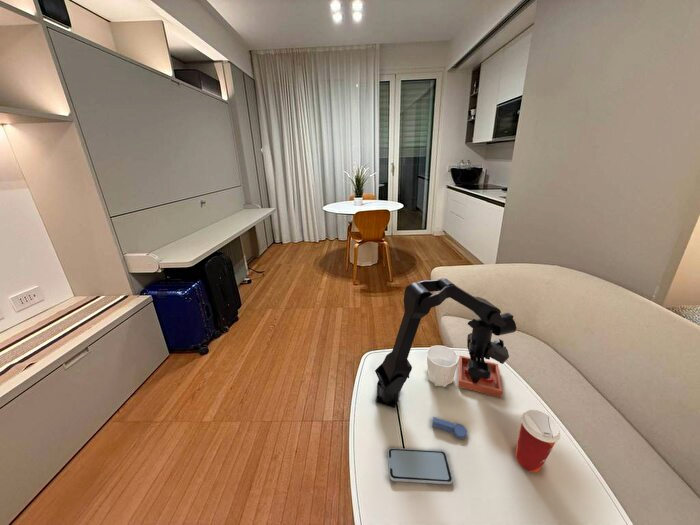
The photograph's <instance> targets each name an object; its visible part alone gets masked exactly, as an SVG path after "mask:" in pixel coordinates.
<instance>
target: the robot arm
mask: <svg viewBox="0 0 700 525" xmlns="http://www.w3.org/2000/svg"><path fill="white" fill-rule="evenodd" d="M433 292H437V293H433ZM432 293H433V294H432ZM446 299H451V300H453V301H455V302H457V303H458V304H460V305H462V306H464V307H465V308H466V309H469V310H470V311H471V312H472V313H473V314H474V315H475V316H476V317H478V318H477V319H476V318H473V319H472V320H469V321H468V322H467V325H468V326H469V327H470V328H471V329H472V330H471V332H470V333H468V334H467V337H466V346H467V347H466V348H467V351H468V355H469V358H471V360H470V361H468V374H469V375H470V377H471V379H472V382H473V383H477V382H478V381H479V380H480V379H481V378H484V379H490V375H491V372H490V366H489V365H488V364H487V363H485V362H484V361H485V360H491V359H492V360H494V361H497V362H498V363H499V364H501V365H504V364H505V362H506V361H507V360H508V359H509V358H510V355H509V350H508V348H507V346H505V343H504V340H503V339H501V338H498V339H495V340H493V341H492V337H493V335H494V336H497V337H499V336H504V335H509V334H514V333H516V331H517V324H516V321H515V319H514V315H513V314H512V313H510V312H504V313H502V311H501V309H500V308H499V307H497V306H495V305H494V304H493V303H491V302H490V301H489V300H487V299H486V298H483V297H480V296H474V295H472V294H470V293H469V292H467V291H466V290H464V289H462V288H461V287H459V286H458V285H456V284H454V283H453V282H452V281H451V280H449V279H448V278H444V277H442V278H439V279H432V280H431V279H429V280H426V279H425V280H421V281H418V282H416V281H415V282H412V283H410V284H407V285H406V286H405V290H404V294H403V307H404V313H403V316H402V319H401V322H400V326H399V328H398V332H397V335H396V337H395V341H394V344H393V347H392V349H391V350H392V351H390V352H389V353H387V354H386V356H384V357H385V358H384V360H383V362H382V363H381V364H380V365H379V366H378V367H376V369H374V372H375V374H376V377H377V379H378V380H377V383H376V397H375V400H374V401H375V403H376V404H380V405H383V406H386V407H390V408H392V409H395V408H397V403H399V400H400V397H401V391H402V389H403V386H404V385H405V383H406V382H407V380H408V379H410V374H411V372H412V370H413V365H412V364H411V363H410V361H409V360H408V358H409V355H410V352H411V349H412V346H413V344H414V341H415V338H416V335H417V333H418V329H419V326H420V323H421V320H422V319H423V318H424V317H425V316H427V315H428V314H429V313H430V311H431V310H432V308H435V307H437V306H441V304H442V303H443V302H444V301H446Z"/></svg>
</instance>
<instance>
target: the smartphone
mask: <svg viewBox="0 0 700 525" xmlns="http://www.w3.org/2000/svg"><path fill="white" fill-rule="evenodd" d="M387 461H388V462H387V463H388V477H389V479H390V480H391V481H392V482H403V483H404V482H407V483H421V484H435V485H436V484H439V485H451V484H453V475H452V471H451V467H450V463H449V459H448V455H447V453H446V452H445V451H444V450H434V449H417V448H400V447H399V448H398V447H389V449H388V450H387Z"/></svg>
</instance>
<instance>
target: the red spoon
mask: <svg viewBox="0 0 700 525" xmlns="http://www.w3.org/2000/svg"><path fill="white" fill-rule="evenodd" d="M465 375H468V376H470V375H469V374H468V367H465ZM481 379H483V380H484V381H485V382H488V383H491V382H493V379H494V377H493V375H492V374H491V375H490V379H484V378H481Z"/></svg>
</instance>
